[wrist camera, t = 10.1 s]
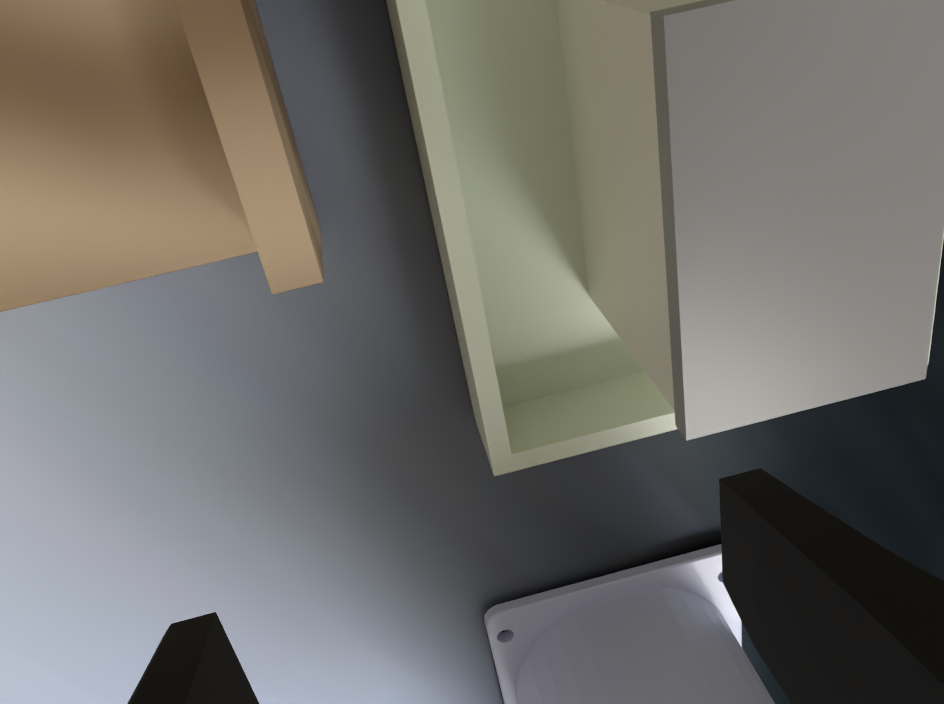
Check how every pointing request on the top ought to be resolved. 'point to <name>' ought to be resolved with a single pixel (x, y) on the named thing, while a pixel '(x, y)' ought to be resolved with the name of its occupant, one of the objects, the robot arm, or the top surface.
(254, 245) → the dock
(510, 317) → the tray
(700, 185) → the grey box
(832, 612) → the robot arm
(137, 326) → the top surface
